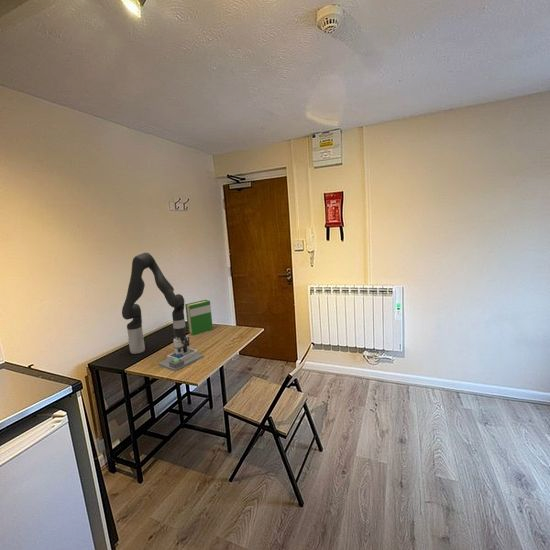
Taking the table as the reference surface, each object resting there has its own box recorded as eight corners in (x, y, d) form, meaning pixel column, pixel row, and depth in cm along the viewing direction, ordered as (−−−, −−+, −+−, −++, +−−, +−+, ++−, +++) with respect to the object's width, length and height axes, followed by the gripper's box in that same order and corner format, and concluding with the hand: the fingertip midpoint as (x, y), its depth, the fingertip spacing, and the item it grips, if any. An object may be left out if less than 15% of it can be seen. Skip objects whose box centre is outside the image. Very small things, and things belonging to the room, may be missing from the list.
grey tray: (157, 365, 187) (157, 358, 186) (186, 351, 204) (186, 346, 204) (175, 371, 177) (174, 365, 176) (203, 356, 195) (203, 351, 194)
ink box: (177, 359, 190) (175, 341, 188) (174, 356, 194) (172, 339, 192) (190, 355, 195) (188, 337, 193) (187, 352, 199) (185, 335, 197)
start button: (172, 365, 182) (172, 359, 181) (177, 362, 184) (176, 357, 184) (176, 366, 180) (175, 360, 179) (180, 364, 182) (180, 358, 182)
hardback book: (192, 335, 235) (189, 305, 231) (188, 333, 240) (185, 304, 236) (212, 329, 246) (210, 301, 242) (208, 327, 251) (205, 299, 247)
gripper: (167, 326, 192) (170, 351, 195) (181, 329, 184) (184, 355, 186) (177, 322, 198) (179, 346, 201) (191, 326, 190) (194, 351, 192)
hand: (182, 351), depth 194 cm, fingers closed on ink box, 6 cm apart
